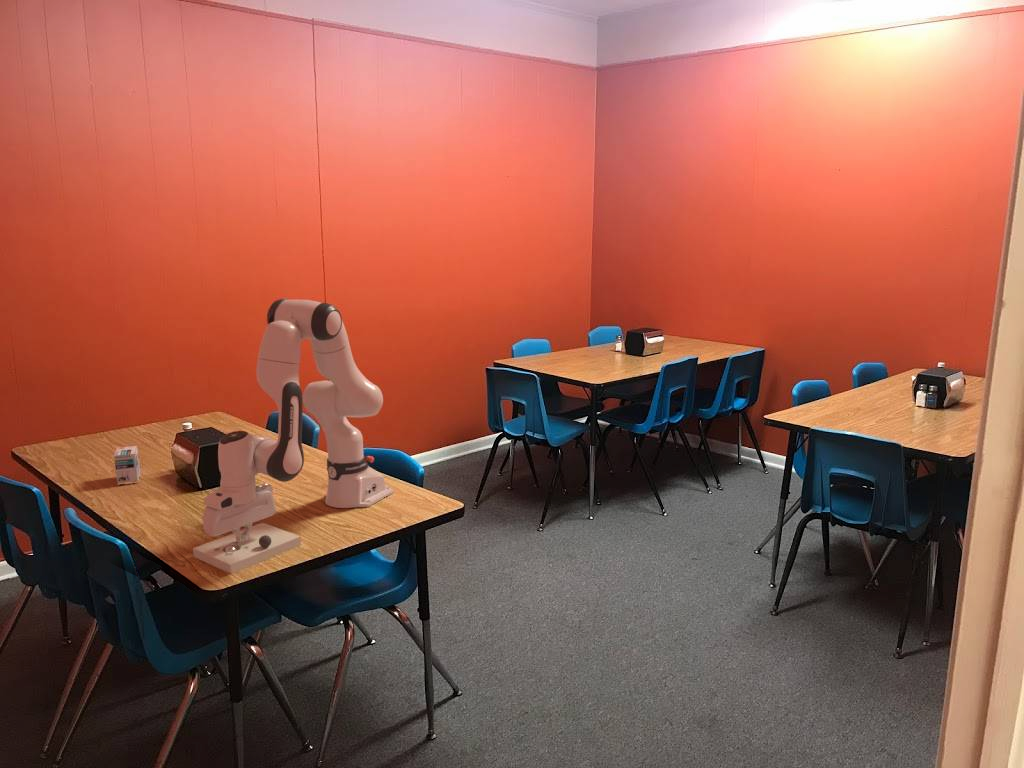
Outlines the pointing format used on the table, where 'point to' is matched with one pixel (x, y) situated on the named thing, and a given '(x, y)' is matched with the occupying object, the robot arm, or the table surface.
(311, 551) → the table surface
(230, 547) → the steel ball
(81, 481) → the table surface
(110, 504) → the table surface
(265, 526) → the board
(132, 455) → the light bulb box
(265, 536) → the black rubber ball
